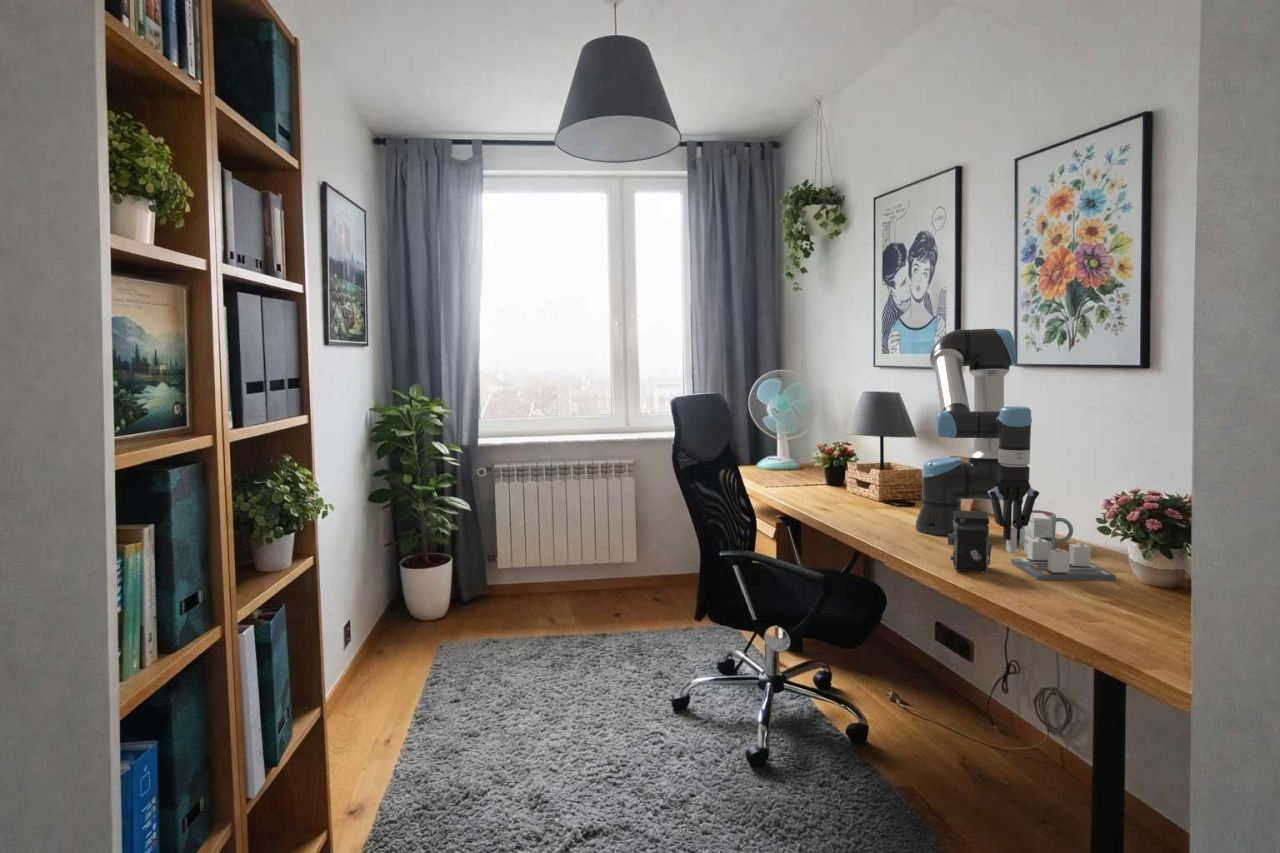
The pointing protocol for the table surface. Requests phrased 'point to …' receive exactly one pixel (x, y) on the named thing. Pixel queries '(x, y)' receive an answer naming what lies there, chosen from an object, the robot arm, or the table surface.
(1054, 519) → the mug
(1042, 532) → the ink box
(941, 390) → the robot arm
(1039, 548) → the tab
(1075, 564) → the tab
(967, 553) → the camera
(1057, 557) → the tab
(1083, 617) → the table surface
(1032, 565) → the grey flat board
